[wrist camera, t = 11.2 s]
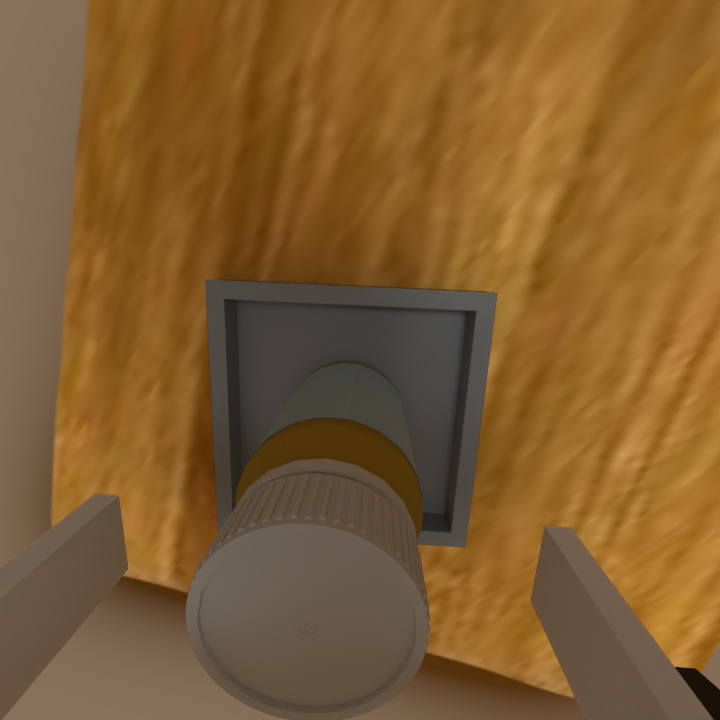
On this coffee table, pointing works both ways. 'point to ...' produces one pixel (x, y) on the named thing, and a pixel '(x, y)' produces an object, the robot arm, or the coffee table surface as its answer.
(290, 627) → the bottle
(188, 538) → the coffee table surface
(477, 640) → the coffee table surface
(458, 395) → the tray
